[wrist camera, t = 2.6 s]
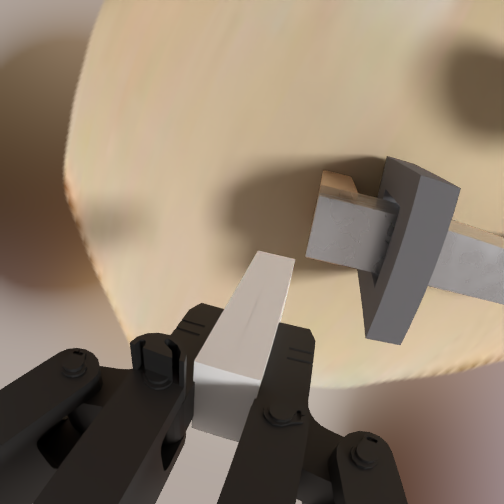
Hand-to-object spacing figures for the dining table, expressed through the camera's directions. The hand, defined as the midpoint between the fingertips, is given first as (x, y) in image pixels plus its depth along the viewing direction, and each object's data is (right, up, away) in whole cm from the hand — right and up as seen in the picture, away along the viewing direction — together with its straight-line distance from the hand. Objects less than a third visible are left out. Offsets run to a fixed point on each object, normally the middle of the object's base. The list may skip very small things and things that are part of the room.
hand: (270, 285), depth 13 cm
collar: (+11, +5, +13) cm, 17 cm away
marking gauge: (+16, +3, +12) cm, 20 cm away
